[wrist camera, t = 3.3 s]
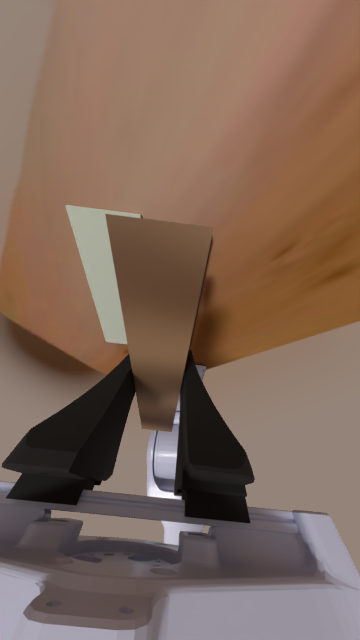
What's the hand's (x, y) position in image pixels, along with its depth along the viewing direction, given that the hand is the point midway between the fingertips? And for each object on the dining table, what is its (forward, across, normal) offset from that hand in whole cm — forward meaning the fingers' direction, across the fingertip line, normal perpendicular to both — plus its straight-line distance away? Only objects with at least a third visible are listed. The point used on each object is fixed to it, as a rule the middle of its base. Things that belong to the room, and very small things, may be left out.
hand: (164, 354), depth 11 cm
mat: (+10, +8, 0) cm, 13 cm away
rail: (0, 0, 0) cm, 0 cm away
